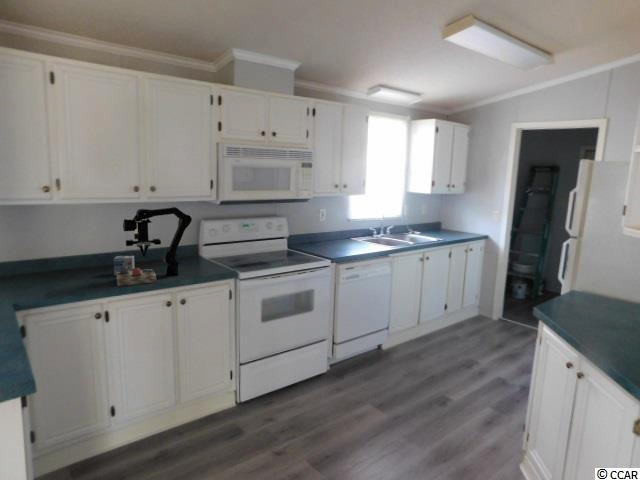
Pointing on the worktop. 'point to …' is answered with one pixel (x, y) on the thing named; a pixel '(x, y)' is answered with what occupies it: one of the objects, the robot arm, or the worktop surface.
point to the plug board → (135, 278)
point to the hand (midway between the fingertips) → (143, 256)
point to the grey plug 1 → (123, 270)
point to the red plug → (136, 272)
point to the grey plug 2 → (146, 270)
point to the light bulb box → (123, 263)
